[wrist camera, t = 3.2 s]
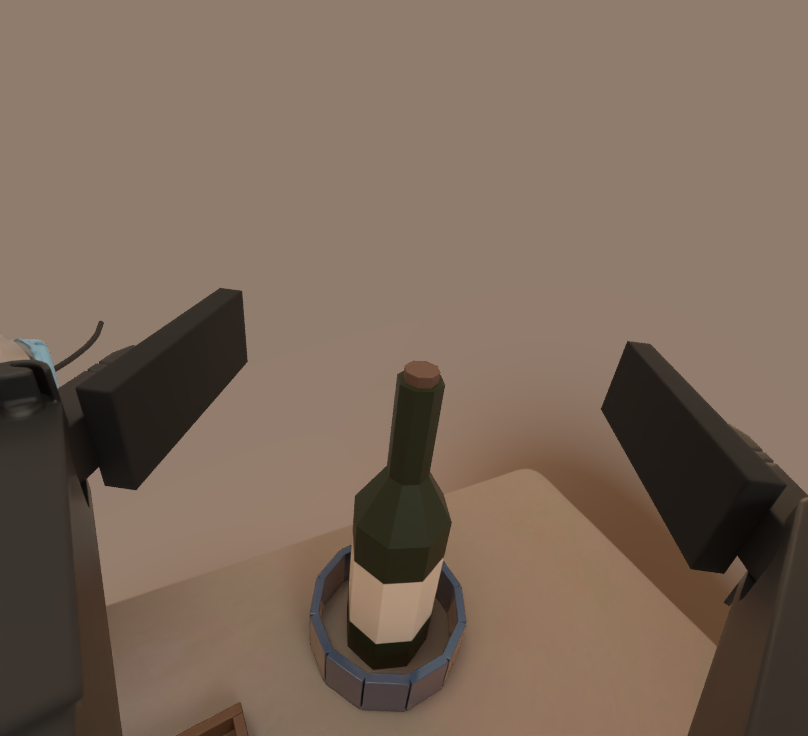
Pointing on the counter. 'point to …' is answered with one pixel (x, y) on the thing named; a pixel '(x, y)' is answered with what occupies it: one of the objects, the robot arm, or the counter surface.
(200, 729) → the tray
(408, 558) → the wine bottle
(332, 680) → the segmented polygonal ring
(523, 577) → the counter surface
